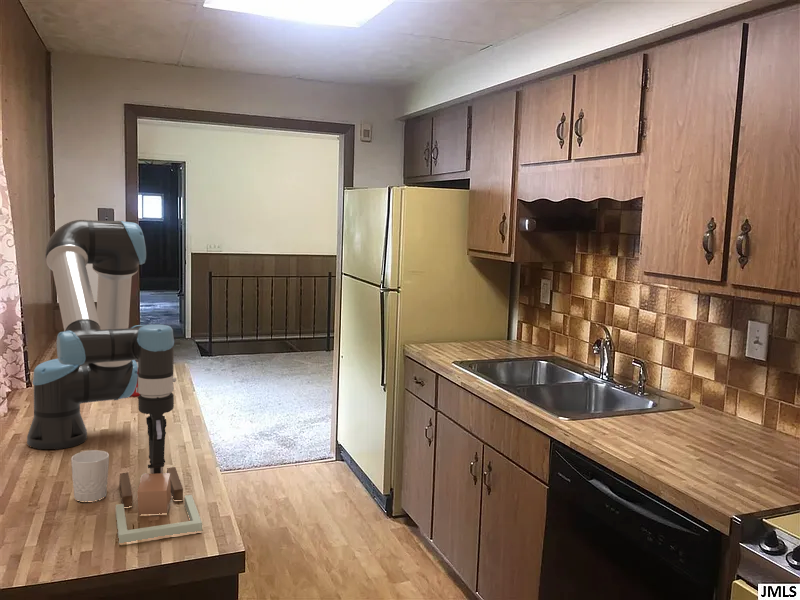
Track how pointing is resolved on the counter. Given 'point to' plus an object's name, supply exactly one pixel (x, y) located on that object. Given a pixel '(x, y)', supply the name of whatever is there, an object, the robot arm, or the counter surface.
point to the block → (154, 493)
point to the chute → (127, 492)
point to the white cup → (90, 475)
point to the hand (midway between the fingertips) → (156, 492)
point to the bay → (160, 530)
